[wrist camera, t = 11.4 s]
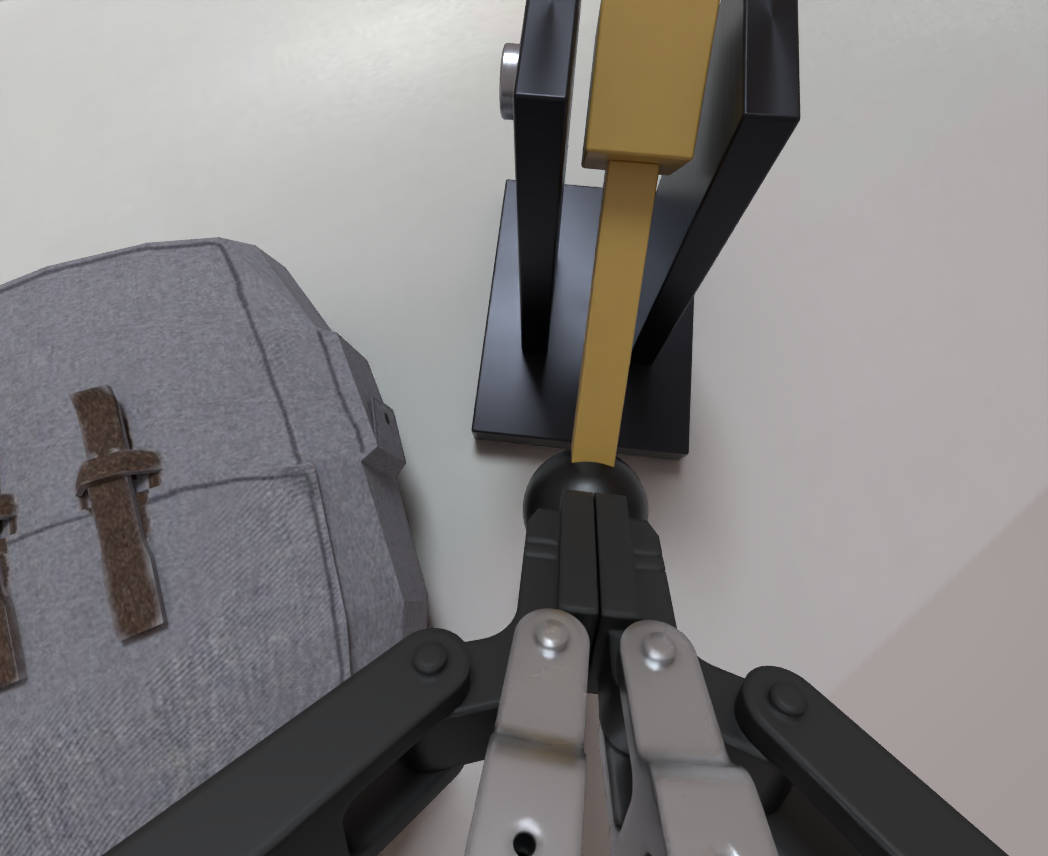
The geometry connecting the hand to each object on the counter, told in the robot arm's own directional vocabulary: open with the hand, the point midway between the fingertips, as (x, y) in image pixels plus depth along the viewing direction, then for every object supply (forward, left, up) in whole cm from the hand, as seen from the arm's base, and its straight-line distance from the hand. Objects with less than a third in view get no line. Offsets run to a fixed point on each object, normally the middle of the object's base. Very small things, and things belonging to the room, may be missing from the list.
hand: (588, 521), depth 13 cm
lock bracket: (+5, -8, -7) cm, 12 cm away
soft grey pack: (+9, +8, -8) cm, 14 cm away
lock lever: (+3, -5, -1) cm, 5 cm away
